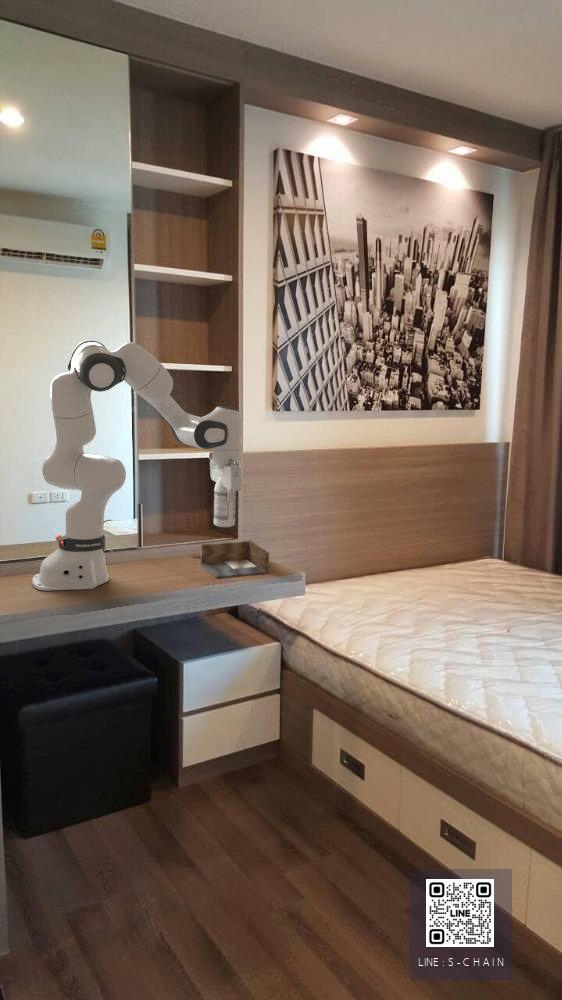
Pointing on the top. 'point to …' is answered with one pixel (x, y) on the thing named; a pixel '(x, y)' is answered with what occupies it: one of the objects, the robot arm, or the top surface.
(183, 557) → the top surface
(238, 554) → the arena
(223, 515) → the bath foam
